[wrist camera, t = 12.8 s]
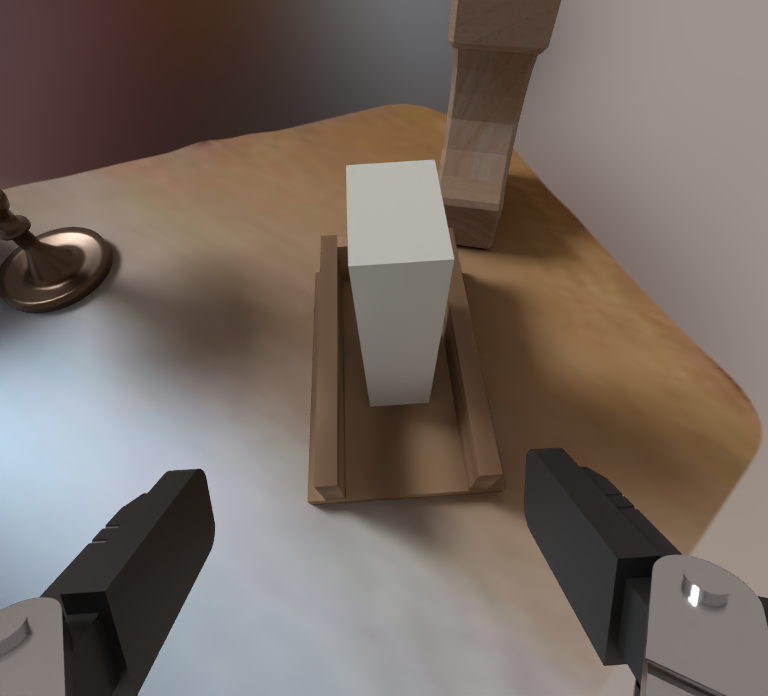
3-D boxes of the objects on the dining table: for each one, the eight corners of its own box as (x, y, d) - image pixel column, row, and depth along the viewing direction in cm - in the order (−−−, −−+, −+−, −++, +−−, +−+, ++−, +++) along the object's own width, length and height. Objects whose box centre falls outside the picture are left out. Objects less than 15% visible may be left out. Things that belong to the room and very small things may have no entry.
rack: (310, 504, 25) (292, 488, 21) (317, 280, 34) (306, 237, 30) (502, 491, 25) (523, 472, 21) (458, 271, 34) (467, 226, 30)
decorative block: (490, 253, 35) (580, -64, 18) (426, 243, 36) (453, -70, 19) (502, 173, 41) (580, -131, 23) (446, 166, 41) (481, -133, 24)
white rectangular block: (370, 406, 27) (348, 266, 15) (366, 332, 30) (346, 165, 18) (428, 402, 27) (454, 259, 15) (419, 328, 30) (434, 159, 18)
